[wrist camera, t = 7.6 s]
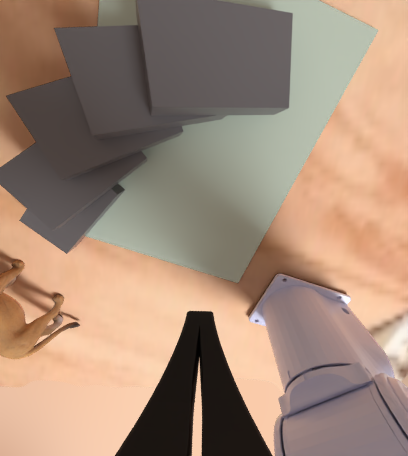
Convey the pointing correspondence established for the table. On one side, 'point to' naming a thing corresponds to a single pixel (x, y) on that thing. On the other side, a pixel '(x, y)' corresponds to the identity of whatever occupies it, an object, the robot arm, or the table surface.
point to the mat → (234, 153)
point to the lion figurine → (15, 321)
